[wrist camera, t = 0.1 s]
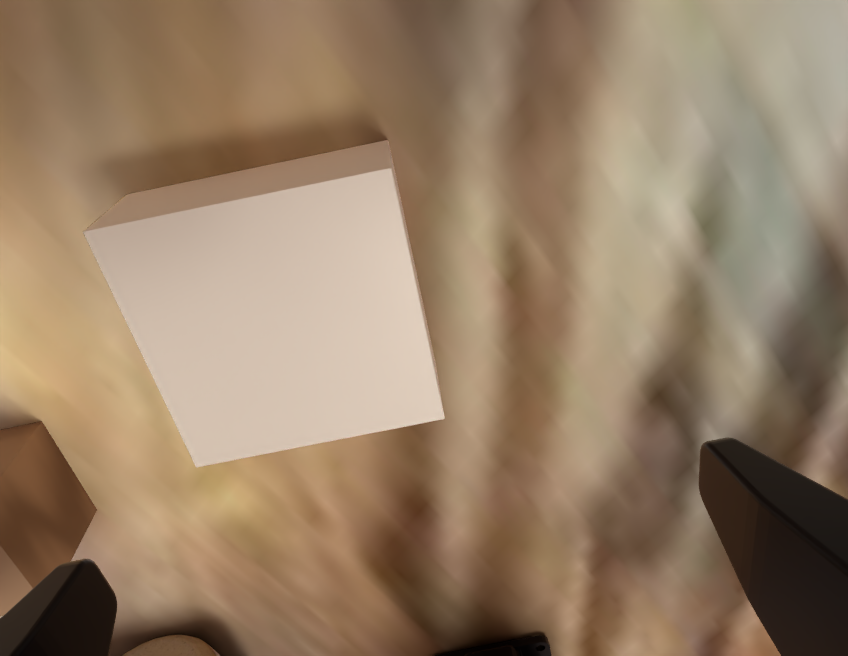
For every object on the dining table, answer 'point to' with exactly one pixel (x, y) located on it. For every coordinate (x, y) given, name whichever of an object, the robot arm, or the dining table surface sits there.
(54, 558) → the walnut cube
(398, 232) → the cream block
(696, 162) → the dining table surface
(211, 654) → the ceramic mug
